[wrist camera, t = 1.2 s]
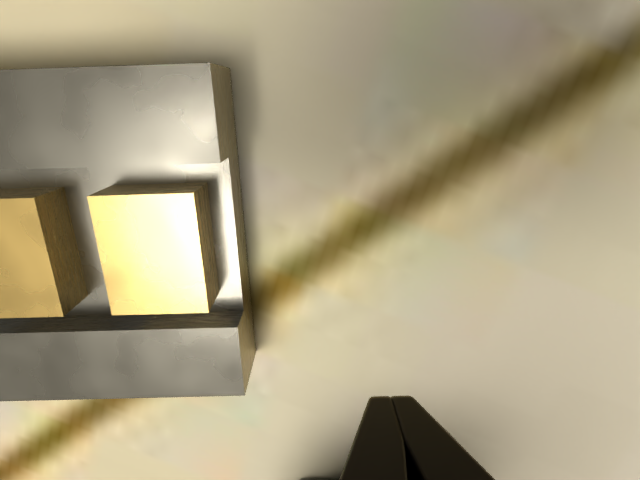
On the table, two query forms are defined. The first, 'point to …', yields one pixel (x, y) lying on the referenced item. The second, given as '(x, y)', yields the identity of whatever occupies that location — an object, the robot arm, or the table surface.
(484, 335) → the table surface
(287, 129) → the table surface
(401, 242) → the table surface
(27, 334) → the slotted plate
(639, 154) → the table surface
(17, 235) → the brass chip
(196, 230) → the brass chip
